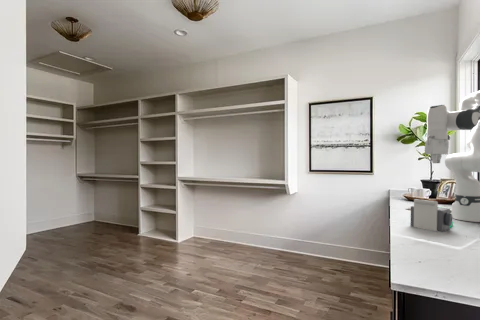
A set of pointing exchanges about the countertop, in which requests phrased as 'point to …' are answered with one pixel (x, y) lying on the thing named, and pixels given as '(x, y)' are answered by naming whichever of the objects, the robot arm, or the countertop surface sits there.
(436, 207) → the camera door
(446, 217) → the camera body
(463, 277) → the countertop surface
